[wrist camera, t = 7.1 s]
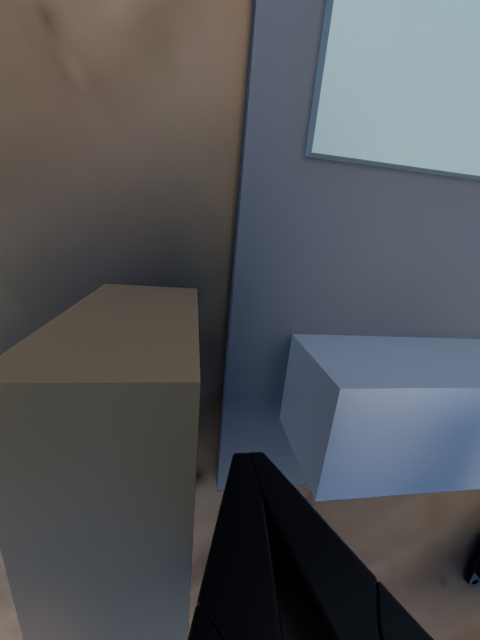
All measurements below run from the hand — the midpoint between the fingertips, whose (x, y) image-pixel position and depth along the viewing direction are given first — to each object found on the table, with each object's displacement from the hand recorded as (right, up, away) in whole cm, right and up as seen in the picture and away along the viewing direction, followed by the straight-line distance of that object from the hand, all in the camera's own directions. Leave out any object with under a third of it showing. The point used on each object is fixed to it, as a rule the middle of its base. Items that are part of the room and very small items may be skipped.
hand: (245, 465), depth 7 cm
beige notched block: (-4, +2, +4) cm, 6 cm away
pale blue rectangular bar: (+8, +1, +6) cm, 10 cm away
